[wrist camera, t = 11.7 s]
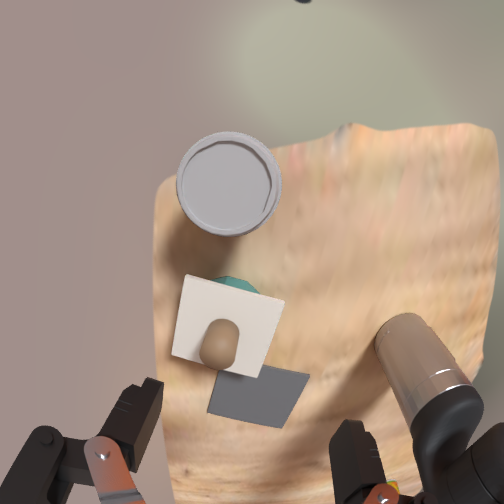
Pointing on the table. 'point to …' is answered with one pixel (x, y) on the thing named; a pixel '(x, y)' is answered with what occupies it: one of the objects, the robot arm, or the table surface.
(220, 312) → the lid
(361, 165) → the table surface
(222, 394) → the mat
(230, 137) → the disposable coffee cup
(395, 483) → the supplement bottle
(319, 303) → the table surface
